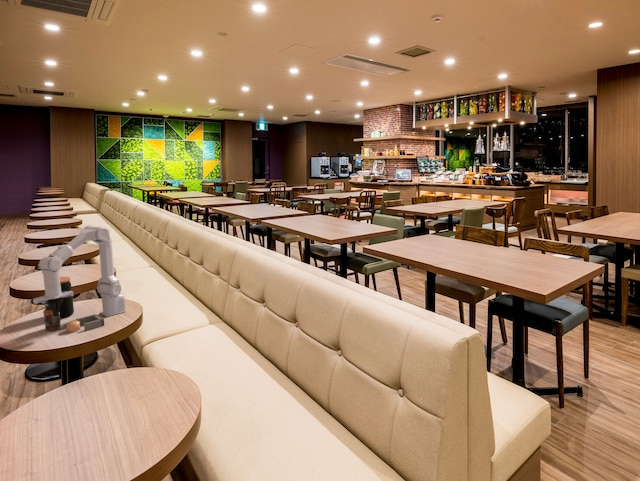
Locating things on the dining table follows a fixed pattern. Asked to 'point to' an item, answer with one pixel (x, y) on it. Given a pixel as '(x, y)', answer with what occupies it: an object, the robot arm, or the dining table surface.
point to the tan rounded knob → (73, 326)
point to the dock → (91, 322)
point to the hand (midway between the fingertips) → (56, 315)
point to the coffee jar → (66, 298)
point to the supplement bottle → (51, 319)
